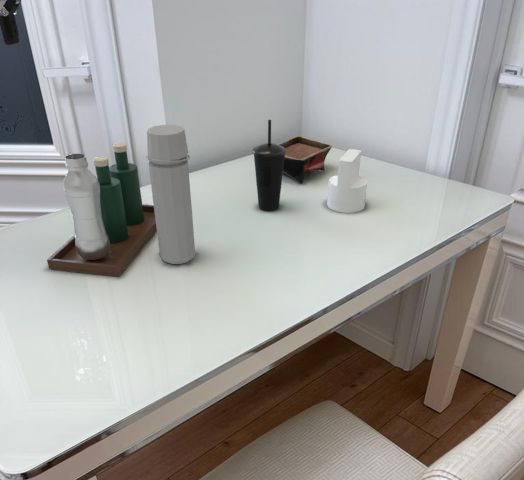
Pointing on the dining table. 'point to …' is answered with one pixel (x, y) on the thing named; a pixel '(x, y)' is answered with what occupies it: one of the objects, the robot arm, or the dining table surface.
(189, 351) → the dining table surface
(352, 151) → the base with upright slab
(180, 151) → the water bottle
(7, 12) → the robot arm
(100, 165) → the green bottle
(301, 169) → the rectangular planter
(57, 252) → the tray
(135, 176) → the green bottle
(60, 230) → the dining table surface
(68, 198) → the silver metal bottle
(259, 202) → the drinking cup
